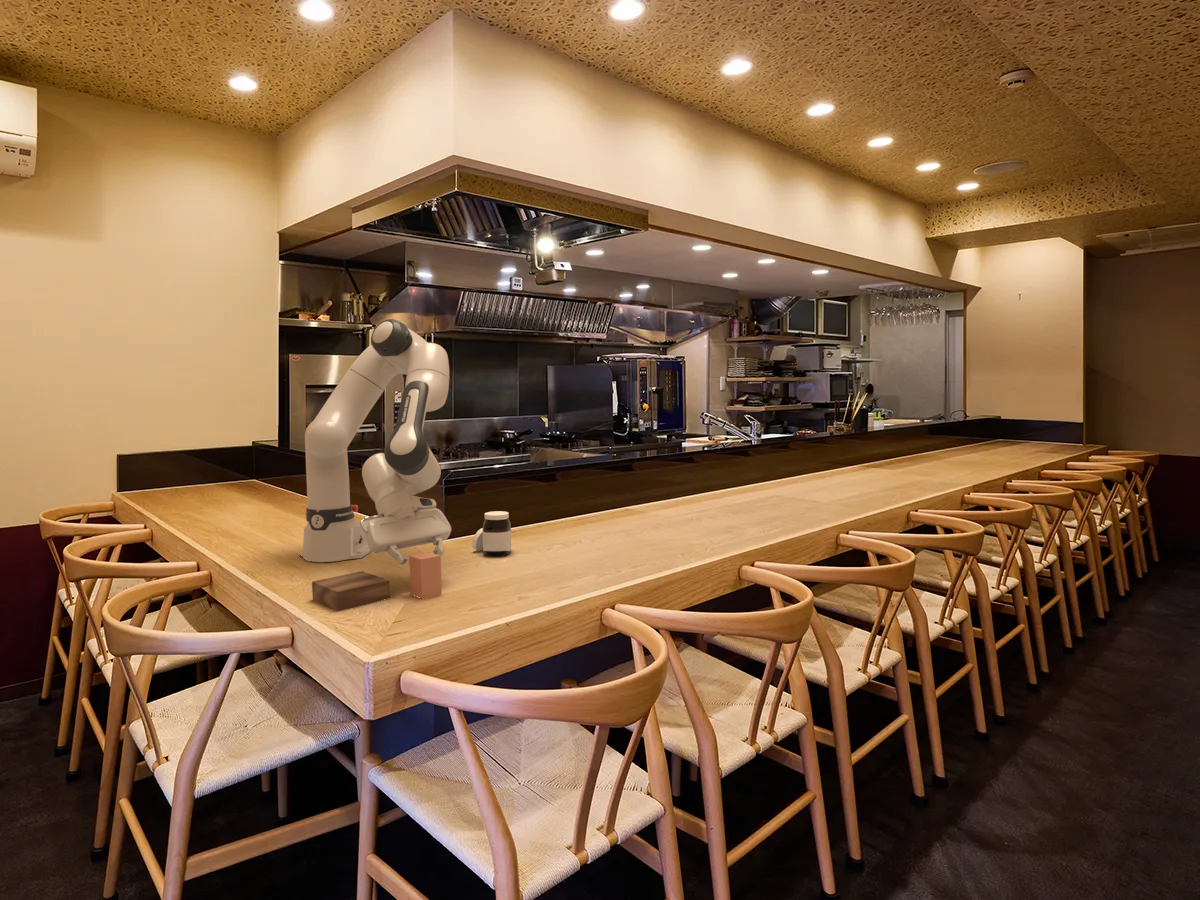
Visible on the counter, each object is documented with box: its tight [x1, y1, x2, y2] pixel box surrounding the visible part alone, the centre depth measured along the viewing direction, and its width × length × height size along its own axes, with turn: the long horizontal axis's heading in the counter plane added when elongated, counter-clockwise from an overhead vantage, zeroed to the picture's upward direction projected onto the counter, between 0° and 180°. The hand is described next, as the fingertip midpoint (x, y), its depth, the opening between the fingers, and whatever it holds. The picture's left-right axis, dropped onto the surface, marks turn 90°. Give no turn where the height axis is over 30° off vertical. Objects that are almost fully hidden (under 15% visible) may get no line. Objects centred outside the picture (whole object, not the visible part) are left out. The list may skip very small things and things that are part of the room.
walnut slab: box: [311, 570, 391, 612], centre depth 154 cm, size 12×12×4 cm
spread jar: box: [471, 510, 512, 557], centre depth 198 cm, size 12×11×12 cm
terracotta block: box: [409, 551, 443, 599], centre depth 157 cm, size 5×5×9 cm
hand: (422, 559), depth 159 cm, fingers open, 8 cm apart
